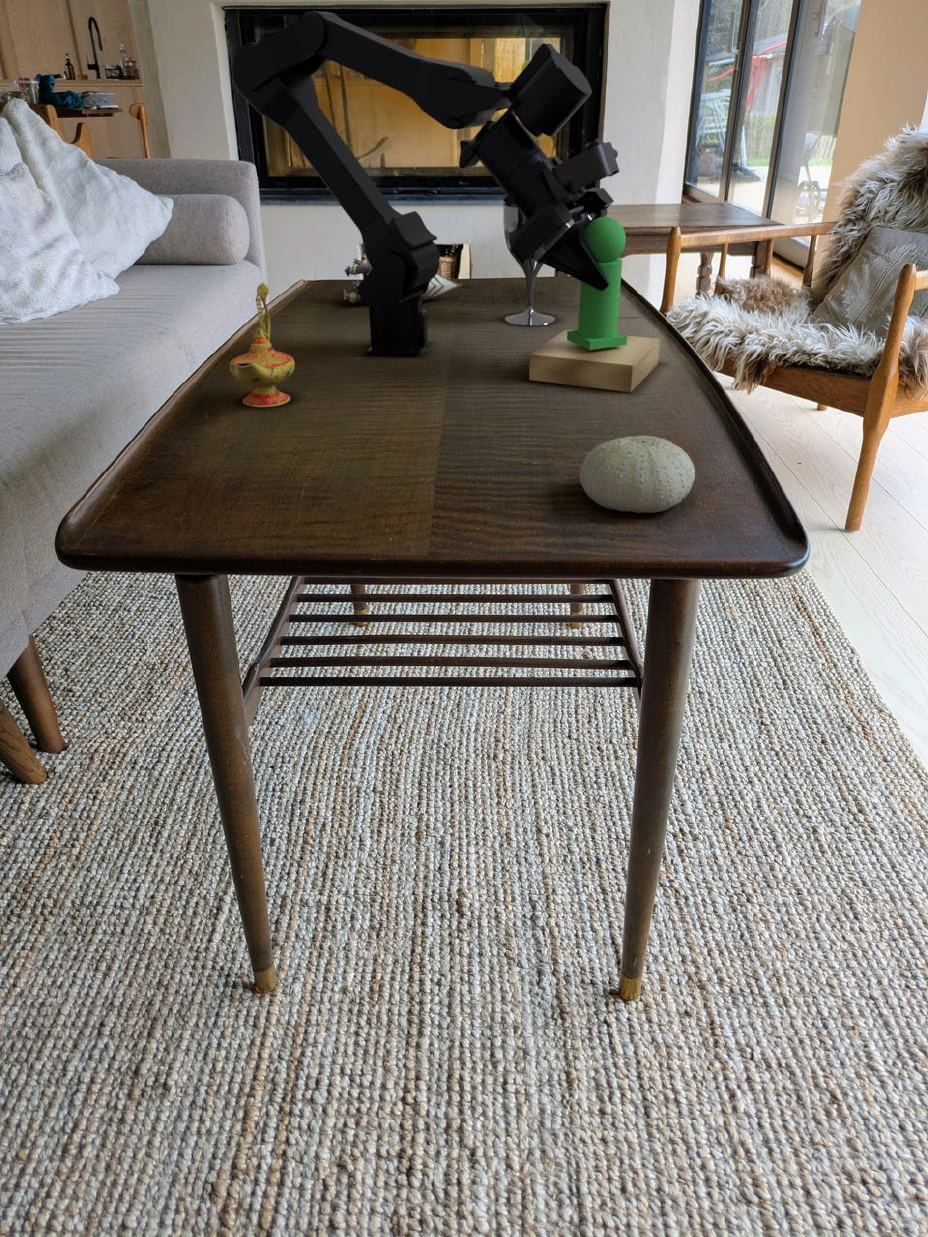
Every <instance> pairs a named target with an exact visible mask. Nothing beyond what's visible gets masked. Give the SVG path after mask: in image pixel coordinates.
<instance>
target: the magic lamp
mask: <svg viewBox="0 0 928 1237" xmlns="http://www.w3.org/2000/svg"><path fill="white" fill-rule="evenodd" d="M269 291H270V289H269V287H268V285H267V284H266V283H264V282H261V283H259V285H258V286H257V288H256V298H255V304H256V308H257V314H258V319H259V326H260V328H256V331H255V332H254V333H253V334H252V338H253V339H254V340H253V341H252V343H251V344H250V347H249V350H248V352H246V353H243V354H240V355H238V356H236V357H234V358H233V359H231V361H230V362H229V371H230V373H231V374H232V376H233V377H234V378H235V380H237V381H239V382H240V383H242V384H245V385H247V386H251V387H254V389H253V391H252V392H251V393H250V394H249V395H247V396H246V397H244V398H243V399H242V403H243V404H244V405H245V406H248V407H253V408H272V407H277V406H281V405H284V404H286V403H288V402H289V401H291V397H290V395H289V394H288V393H284V392H282V391H280V390H279V389H278V388H277V387H276V385H278V384H281V383H283V382H284V381H286V380H287V379H288V378H289V377H291V375H292V374H293V373H294V370H295V364H296V363H295V359H294V358H293V356H292V355H290V354H288V353H285V352H283V351H277V350H275V348H274V346H273V345H272V343H271V341H270V339H271V317H270V312H269V308H268V305H267V303H266V302H267V301H266V300H267V297H268V295H269V293H270V292H269ZM261 302H262V303H261ZM262 304H263V305H262ZM262 306H263V307H262ZM263 308H264V311H265V315H266V323H265V318H264V313H263ZM266 324H267V329H266Z"/></svg>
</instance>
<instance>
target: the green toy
mask: <svg viewBox="0 0 928 1237" xmlns="http://www.w3.org/2000/svg"><path fill="white" fill-rule="evenodd" d="M626 241H627V236H626V232H625V229H624V227H623V225H622V224H621V223H620V222H619V221H618V220H616V219H615V218H612V217H609V216H606V217H600V218H597V219H595V220H593V221H592V222H590V223H589V224H588V225H587V227H586V228H585V242H586V244H587V245H588V247H589V249H590V250H591V252H592V254H593V255H594V257H595V259H596V260H597V262H598V264H599V266H600V267H601V269H602V271H603V272H604V274H605V276H606V278H607V280H608V282H609V286H608V287H607V288H606V289H605V290H604V291H600V290H598V289H596V288H594V287H592V286H590V285H588V284H586V283H584V282H582V281H580V292H579V307H578V325H577V329H575V331H568V332H567V340H568V341H571V342H573V343H575V344H577V345H579V346H582V347H584V348H586V349H588V350H595V349H602V348H609V347H616V346H622V345H627V336H628V335H625V334H623V333H621V332H618V321H619V320H618V318H619V307H620V294H621V282H622V268H623V260H622V259H621V258H620V256H621V255H622V254H623V252H624V249H625V247H626V243H627V242H626Z"/></svg>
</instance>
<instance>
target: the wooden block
mask: <svg viewBox="0 0 928 1237" xmlns="http://www.w3.org/2000/svg"><path fill="white" fill-rule="evenodd" d="M575 330H576V329H575ZM575 330H573V329H563V330H562V331H560V332H559V333H558V334H556V335H555V336H554V337H552V338H551V339H549V340H548V341H546V342H545V343H543V344H542V345H540V346H539V347H538V348H536V349H535V350H534V351H533V352H531V353H530V354H529V373H528V374H529V379H528V380H529V381H535V382H542V383H551V384H558V385H565V386H573V387H575V386H576V387H583V388H591V389H600V390H608V391H616V392H623V393H624V392H625V393H632V392H633V391H634V390H635V389H636V388H637V386H639V384H641V382H643V380H644V379H645V378H646V377H647V376H648V375H649V374H650V373H651V372H652V371H653V370H654V369H655V367H657V366H658V365H659V359H660V358H659V356H660V346H661V338H655V337H645V336H633V335H626V336H627V345H622V346H616V347H609V348H602V349H595V350H588V349H586V348H584V347H582V346H579V345H577V344H575V343H573V342H571V341H568V340H567V332H568V331H575Z"/></svg>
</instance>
